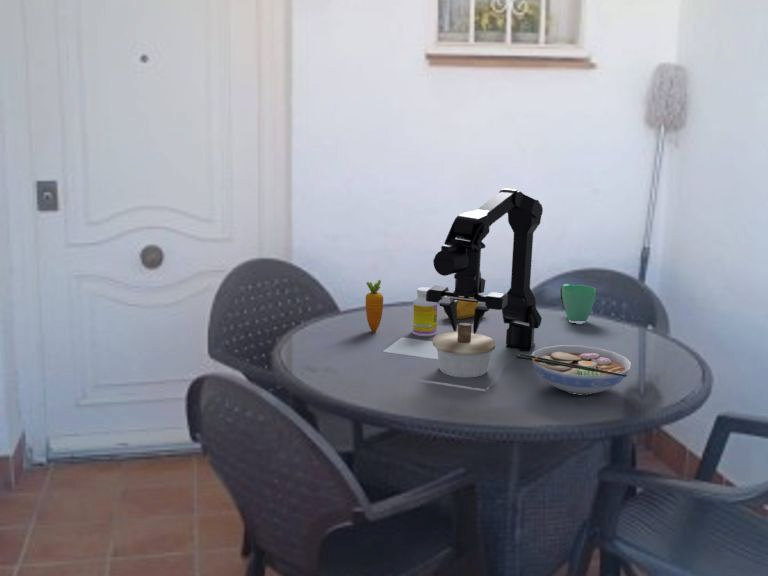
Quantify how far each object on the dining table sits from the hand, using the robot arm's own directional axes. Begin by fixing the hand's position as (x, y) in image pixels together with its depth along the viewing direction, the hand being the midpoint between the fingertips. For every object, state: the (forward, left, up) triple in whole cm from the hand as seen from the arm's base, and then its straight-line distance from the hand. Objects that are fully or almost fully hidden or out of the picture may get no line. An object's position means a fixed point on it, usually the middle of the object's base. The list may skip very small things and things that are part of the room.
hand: (465, 332), depth 222 cm
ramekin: (0, 0, -10) cm, 10 cm away
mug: (-16, -59, -10) cm, 62 cm away
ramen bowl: (-28, +1, -10) cm, 30 cm away
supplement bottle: (+19, -26, -10) cm, 34 cm away
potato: (+14, -48, -10) cm, 51 cm away
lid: (0, 0, -3) cm, 3 cm away
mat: (+14, -12, -10) cm, 21 cm away
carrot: (+32, -21, -10) cm, 40 cm away
